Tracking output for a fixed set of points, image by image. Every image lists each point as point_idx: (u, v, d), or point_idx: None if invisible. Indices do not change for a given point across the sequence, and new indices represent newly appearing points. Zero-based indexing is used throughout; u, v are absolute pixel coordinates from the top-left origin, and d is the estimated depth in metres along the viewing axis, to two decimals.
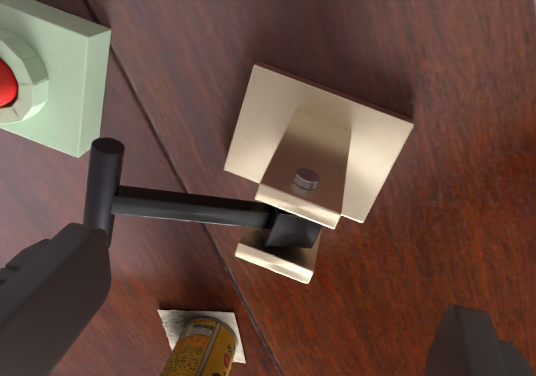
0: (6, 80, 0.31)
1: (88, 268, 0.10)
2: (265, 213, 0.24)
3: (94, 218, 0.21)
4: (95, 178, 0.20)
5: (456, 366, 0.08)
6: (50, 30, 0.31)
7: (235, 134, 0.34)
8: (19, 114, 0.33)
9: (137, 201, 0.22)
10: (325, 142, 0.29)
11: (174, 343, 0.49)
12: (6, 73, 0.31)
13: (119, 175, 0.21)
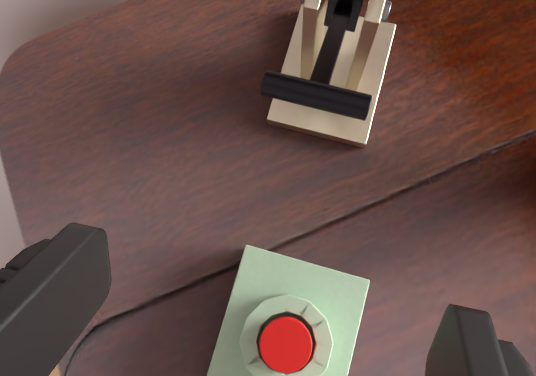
0: (281, 317, 0.31)
1: (88, 268, 0.10)
2: (335, 8, 0.29)
3: (330, 91, 0.24)
4: (288, 83, 0.24)
5: (456, 366, 0.08)
6: (241, 281, 0.34)
7: (328, 133, 0.39)
8: (320, 320, 0.32)
9: (316, 68, 0.25)
10: None
11: None
12: None
13: None
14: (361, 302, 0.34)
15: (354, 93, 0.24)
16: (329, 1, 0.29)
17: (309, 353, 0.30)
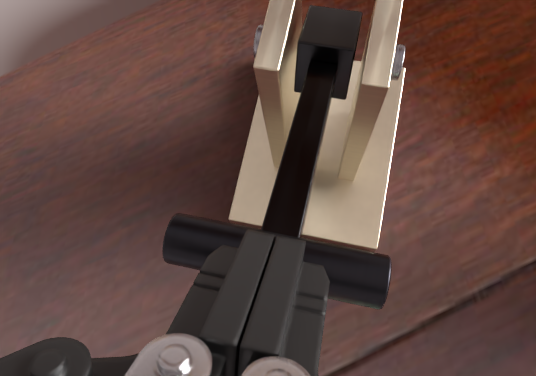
0: None
1: None
2: (309, 65, 0.17)
3: (303, 258, 0.11)
4: (216, 246, 0.12)
5: None
6: None
7: (320, 235, 0.26)
8: None
9: (274, 198, 0.13)
10: None
11: None
12: None
13: (224, 222, 0.13)
14: None
15: (353, 261, 0.11)
16: (298, 54, 0.17)
17: None
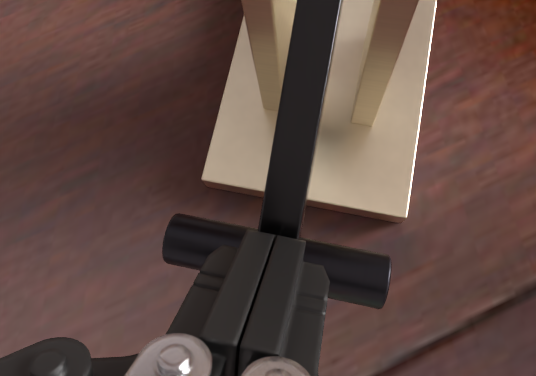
0: None
1: None
2: None
3: None
4: None
5: None
6: None
7: (327, 199, 0.19)
8: None
9: (268, 199, 0.12)
10: None
11: None
12: None
13: (219, 226, 0.12)
14: None
15: (350, 281, 0.11)
16: None
17: None
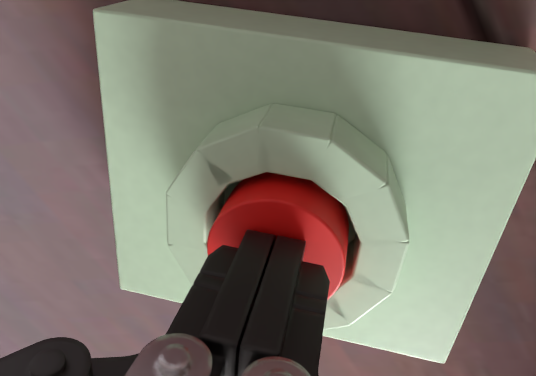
0: (344, 230, 0.11)
1: None
2: None
3: None
4: None
5: None
6: (439, 81, 0.11)
7: None
8: (345, 311, 0.13)
9: None
10: None
11: None
12: (339, 211, 0.12)
13: None
14: (393, 348, 0.15)
15: None
16: None
17: None
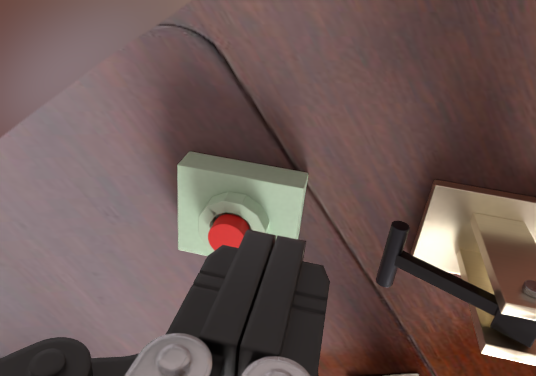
0: None
1: None
2: (494, 303, 0.32)
3: (384, 264, 0.37)
4: (389, 241, 0.36)
5: None
6: (272, 188, 0.40)
7: (420, 237, 0.42)
8: None
9: (409, 263, 0.36)
10: (516, 243, 0.36)
11: None
12: (245, 226, 0.40)
13: (402, 244, 0.36)
14: None
15: (382, 277, 0.38)
16: None
17: None
